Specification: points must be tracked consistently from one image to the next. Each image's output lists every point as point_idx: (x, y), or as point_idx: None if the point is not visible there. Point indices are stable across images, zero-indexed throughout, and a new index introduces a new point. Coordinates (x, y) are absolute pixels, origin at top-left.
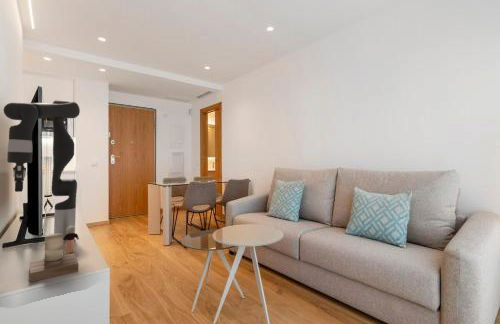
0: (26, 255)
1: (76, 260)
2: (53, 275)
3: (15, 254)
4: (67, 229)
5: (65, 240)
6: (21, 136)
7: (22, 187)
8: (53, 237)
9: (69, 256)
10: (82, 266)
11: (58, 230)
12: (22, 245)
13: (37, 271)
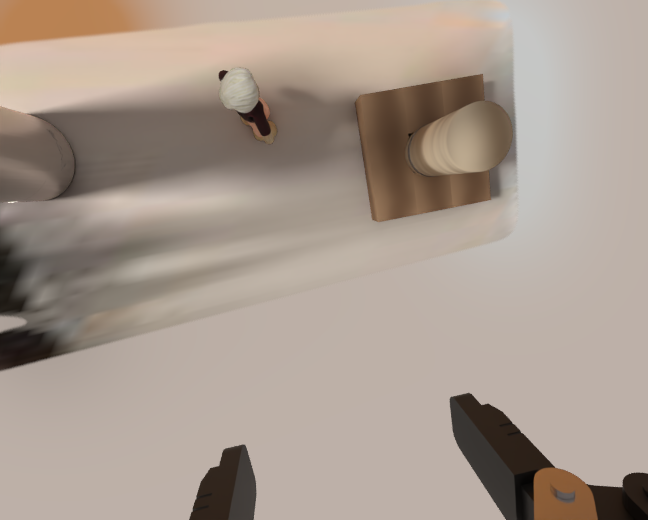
0: (215, 259)
1: (449, 81)
2: None
3: (185, 295)
4: (253, 106)
5: (66, 150)
6: None
7: (490, 417)
8: (511, 136)
9: (391, 107)
10: (432, 70)
11: (27, 178)
12: (59, 304)
13: (488, 183)
